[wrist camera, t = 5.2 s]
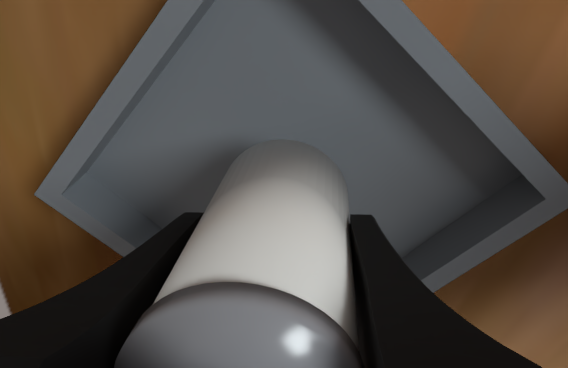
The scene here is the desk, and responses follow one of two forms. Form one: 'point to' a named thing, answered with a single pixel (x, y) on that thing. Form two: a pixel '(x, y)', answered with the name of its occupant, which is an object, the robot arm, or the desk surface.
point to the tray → (307, 129)
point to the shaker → (260, 273)
